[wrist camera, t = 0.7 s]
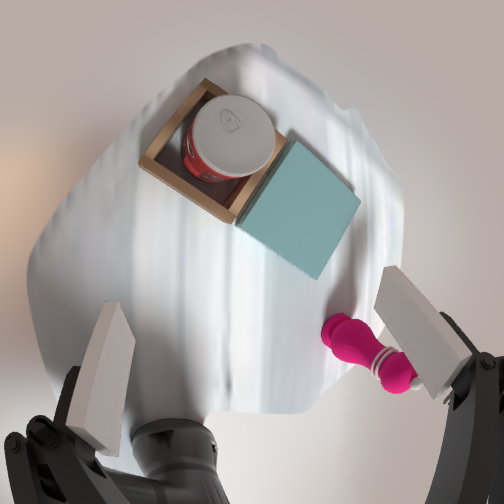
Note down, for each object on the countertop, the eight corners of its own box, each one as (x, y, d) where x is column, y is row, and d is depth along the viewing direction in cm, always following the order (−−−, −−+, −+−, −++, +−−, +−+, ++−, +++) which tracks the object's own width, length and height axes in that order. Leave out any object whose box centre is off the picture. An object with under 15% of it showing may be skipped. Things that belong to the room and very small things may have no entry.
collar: (223, 222, 35) (231, 224, 32) (139, 166, 30) (137, 162, 27) (275, 144, 36) (287, 139, 32) (200, 88, 31) (205, 77, 28)
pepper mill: (319, 354, 45) (398, 418, 27) (316, 319, 44) (406, 381, 25) (351, 337, 47) (432, 390, 29) (350, 304, 46) (441, 352, 27)
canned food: (209, 111, 32) (235, 78, 22) (252, 154, 35) (292, 138, 25) (166, 152, 31) (173, 131, 21) (212, 195, 34) (238, 194, 24)
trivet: (309, 276, 41) (316, 280, 40) (235, 226, 36) (239, 227, 34) (353, 200, 42) (361, 201, 40) (290, 142, 36) (297, 140, 35)
